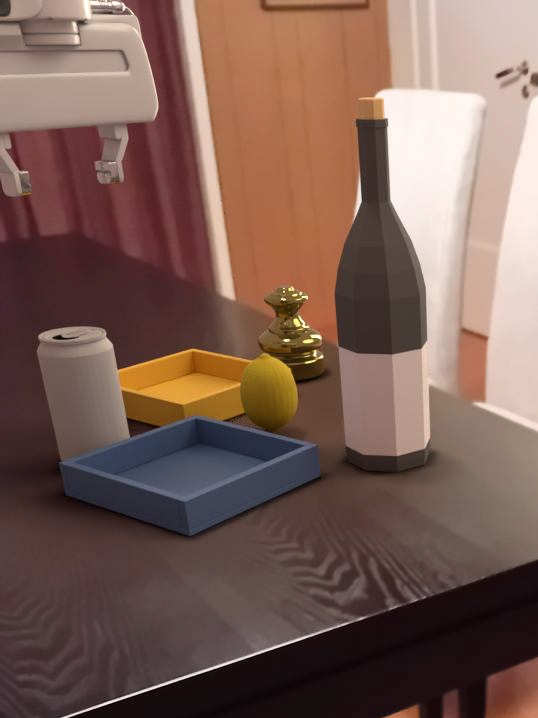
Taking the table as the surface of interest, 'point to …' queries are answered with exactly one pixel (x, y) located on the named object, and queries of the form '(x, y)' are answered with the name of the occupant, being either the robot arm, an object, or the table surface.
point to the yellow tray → (183, 387)
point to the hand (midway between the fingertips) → (67, 189)
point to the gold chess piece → (292, 335)
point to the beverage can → (82, 389)
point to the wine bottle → (381, 319)
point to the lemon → (268, 393)
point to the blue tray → (190, 473)
